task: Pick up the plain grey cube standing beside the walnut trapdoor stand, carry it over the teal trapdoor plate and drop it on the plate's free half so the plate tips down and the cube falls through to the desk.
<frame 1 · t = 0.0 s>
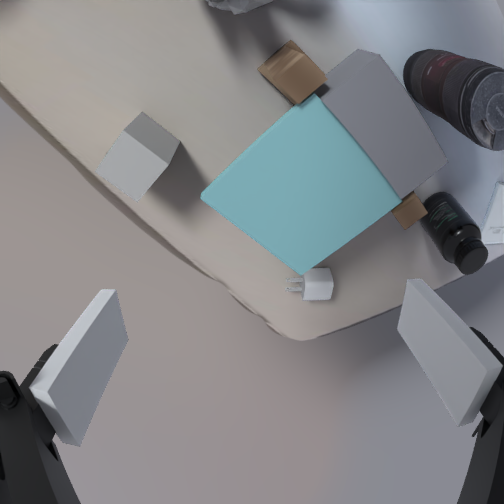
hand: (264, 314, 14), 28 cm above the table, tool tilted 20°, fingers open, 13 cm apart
stand: (330, 111, 34), on the table
trapdoor: (329, 166, 28), point 11 cm above the table, hinge at 0.0°
usb wall charger: (305, 274, 51), on the table
plain grey cube: (147, 143, 36), on the table
camera lens: (424, 75, 31), on the table
supplement bottle: (436, 209, 44), on the table
external hard drive: (498, 210, 44), on the table
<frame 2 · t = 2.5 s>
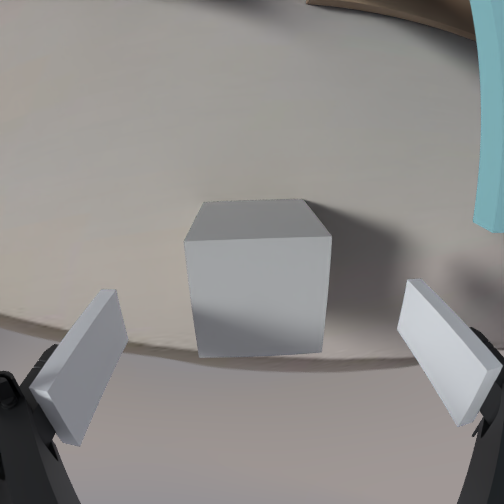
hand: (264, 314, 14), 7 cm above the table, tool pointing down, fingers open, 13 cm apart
plain grey cube: (254, 246, 21), on the table
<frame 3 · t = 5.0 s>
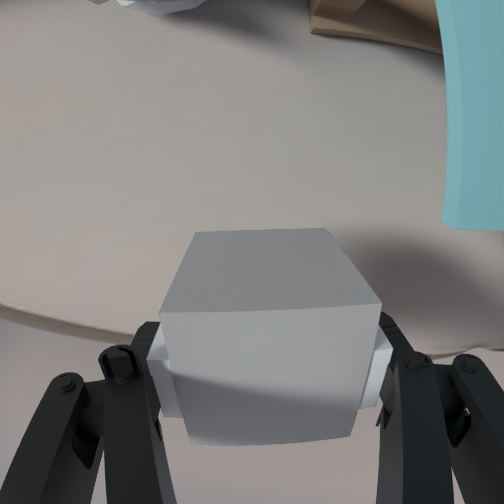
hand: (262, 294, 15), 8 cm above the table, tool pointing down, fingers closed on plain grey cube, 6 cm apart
stand: (427, 23, 17), on the table
plain grey cube: (262, 288, 16), point 7 cm above the table, touching gripper
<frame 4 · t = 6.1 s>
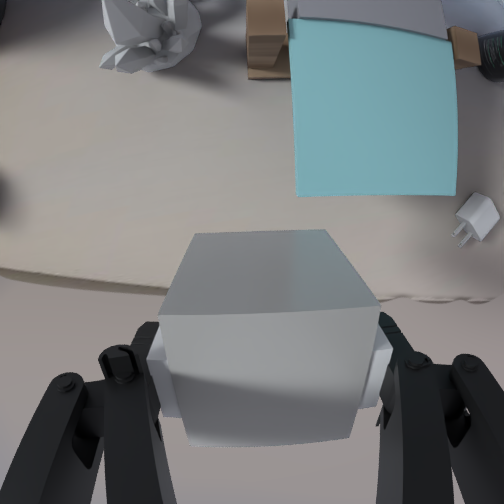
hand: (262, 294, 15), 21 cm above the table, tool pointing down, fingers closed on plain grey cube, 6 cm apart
crystal: (158, 28, 28), on the table
stand: (335, 58, 29), on the table
trapdoor: (373, 72, 21), point 11 cm above the table, hinge at 0.0°
usb wall charger: (463, 218, 36), on the table
plain grey cube: (261, 290, 16), point 21 cm above the table, touching gripper
supplement bottle: (487, 59, 28), on the table
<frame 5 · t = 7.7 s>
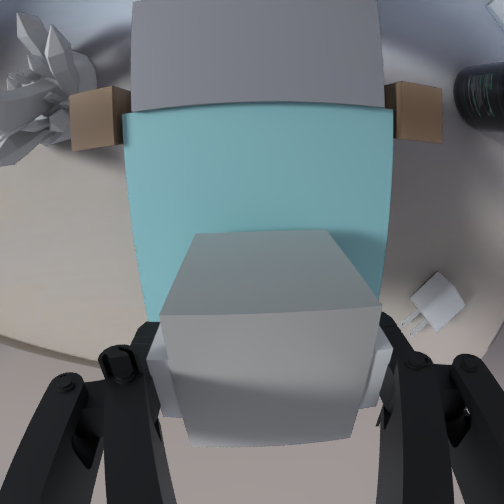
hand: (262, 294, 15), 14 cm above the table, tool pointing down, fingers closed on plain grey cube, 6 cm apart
crystal: (56, 91, 24), on the table
stand: (254, 116, 26), on the table
trapdoor: (259, 170, 17), point 10 cm above the table, hinge at 0.0°
usb wall charger: (420, 300, 33), on the table
plain grey cube: (262, 290, 16), point 14 cm above the table, touching gripper
supplement bottle: (474, 98, 24), on the table
when the fingers open (14 cm above the table, at t = 7.7 s): plain grey cube drops 7 cm and tips over, point 7 cm above the table.
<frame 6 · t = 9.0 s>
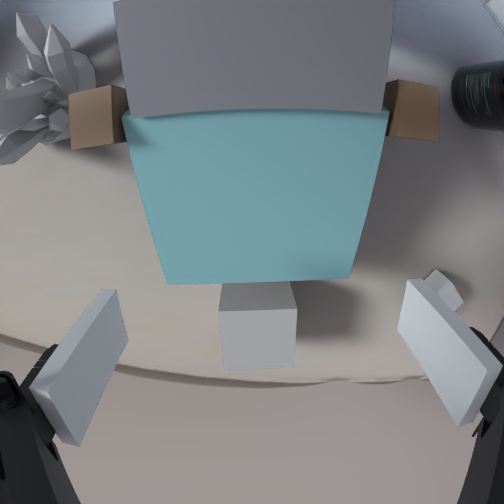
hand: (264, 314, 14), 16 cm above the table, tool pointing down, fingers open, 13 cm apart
crystal: (55, 90, 24), on the table
stand: (252, 115, 26), on the table
trapdoor: (256, 149, 18), point 9 cm above the table, hinge at -24.7°
usb wall charger: (418, 297, 33), on the table
plain grey cube: (258, 341, 25), point 7 cm above the table, tilted 180°
supplement bottle: (472, 97, 25), on the table
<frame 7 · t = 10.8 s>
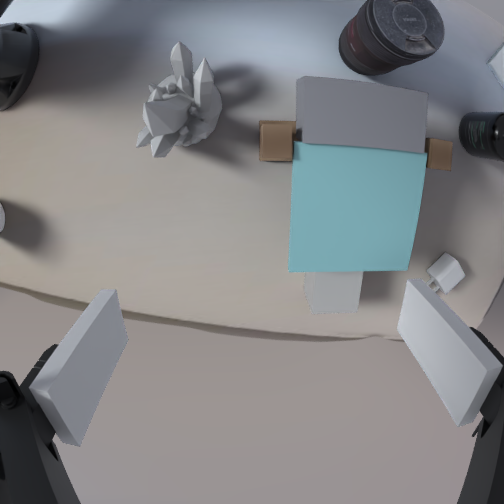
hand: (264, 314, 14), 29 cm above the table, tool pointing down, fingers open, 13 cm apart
crystal: (184, 104, 37), on the table
stand: (333, 142, 39), on the table
trapdoor: (357, 177, 30), point 10 cm above the table, hinge at -6.4°
usb wall charger: (433, 273, 45), on the table
plain grey cube: (337, 291, 38), point 7 cm above the table, tilted 180°
camera lens: (361, 52, 35), on the table
supplement bottle: (473, 134, 38), on the table
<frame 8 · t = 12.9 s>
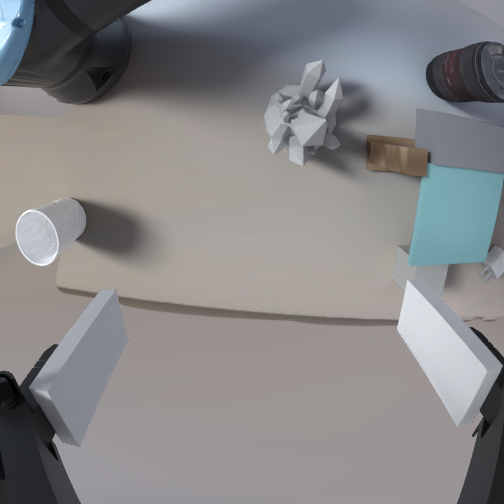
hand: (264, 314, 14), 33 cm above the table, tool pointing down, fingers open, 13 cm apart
crystal: (301, 114, 41), on the table
stand: (422, 156, 43), on the table
white cup: (70, 217, 45), on the table
trapdoor: (457, 190, 34), point 10 cm above the table, hinge at -5.7°
usb wall charger: (485, 262, 50), on the table
plain grey cube: (430, 280, 42), point 7 cm above the table, tilted 180°
camera lens: (441, 79, 38), on the table
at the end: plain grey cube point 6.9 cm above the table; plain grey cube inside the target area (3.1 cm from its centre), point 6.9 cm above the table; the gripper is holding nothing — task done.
